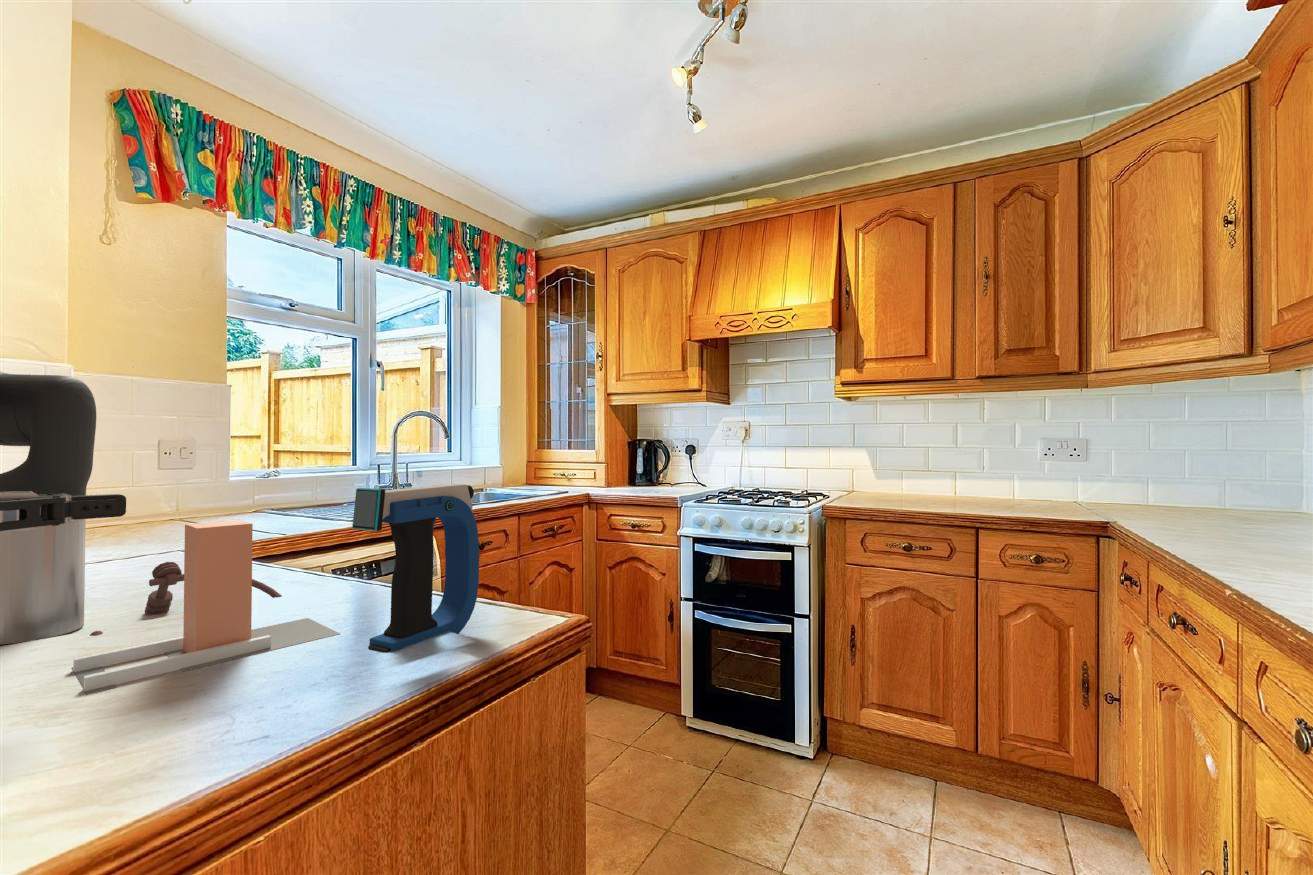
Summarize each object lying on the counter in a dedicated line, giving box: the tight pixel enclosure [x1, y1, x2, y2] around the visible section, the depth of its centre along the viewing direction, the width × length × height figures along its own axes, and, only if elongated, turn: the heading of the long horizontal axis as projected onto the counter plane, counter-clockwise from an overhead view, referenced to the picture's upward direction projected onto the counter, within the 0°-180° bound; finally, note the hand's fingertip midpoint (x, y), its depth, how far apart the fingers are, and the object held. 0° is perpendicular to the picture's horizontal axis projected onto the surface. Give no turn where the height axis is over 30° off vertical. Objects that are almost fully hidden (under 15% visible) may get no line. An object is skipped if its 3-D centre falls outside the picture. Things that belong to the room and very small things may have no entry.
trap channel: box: [71, 617, 341, 696], centre depth 64 cm, size 10×22×3 cm, turn 141°
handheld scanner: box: [352, 483, 480, 653], centre depth 70 cm, size 5×16×20 cm, turn 155°
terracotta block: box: [182, 519, 254, 653], centre depth 65 cm, size 5×5×14 cm
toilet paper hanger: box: [89, 561, 283, 637], centre depth 81 cm, size 22×8×14 cm
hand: (124, 504), depth 58 cm, fingers closed
